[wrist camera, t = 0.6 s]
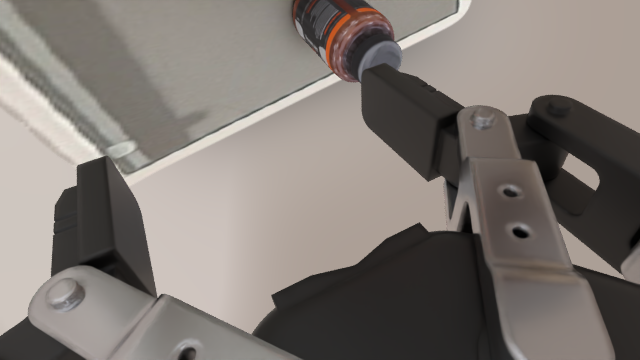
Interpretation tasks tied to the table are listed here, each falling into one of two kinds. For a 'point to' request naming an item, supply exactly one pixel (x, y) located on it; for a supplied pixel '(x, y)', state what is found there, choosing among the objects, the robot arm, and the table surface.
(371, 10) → the supplement bottle
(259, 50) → the table surface
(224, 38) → the table surface
